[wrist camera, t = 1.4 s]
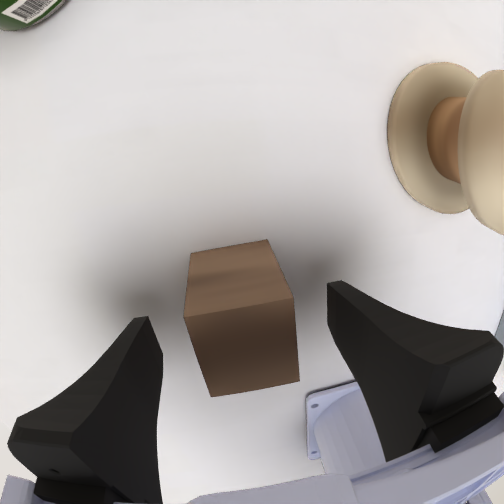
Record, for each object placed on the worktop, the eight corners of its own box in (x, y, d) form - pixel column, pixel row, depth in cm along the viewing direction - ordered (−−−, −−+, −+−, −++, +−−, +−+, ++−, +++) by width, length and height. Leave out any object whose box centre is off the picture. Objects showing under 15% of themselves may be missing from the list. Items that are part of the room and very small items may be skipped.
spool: (489, 202, 15) (550, 232, 10) (389, 218, 15) (453, 263, 10) (487, 73, 12) (555, 77, 7) (378, 56, 11) (452, 39, 7)
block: (276, 310, 16) (299, 381, 12) (208, 323, 16) (211, 397, 11) (267, 238, 14) (293, 297, 10) (191, 252, 14) (183, 316, 10)
